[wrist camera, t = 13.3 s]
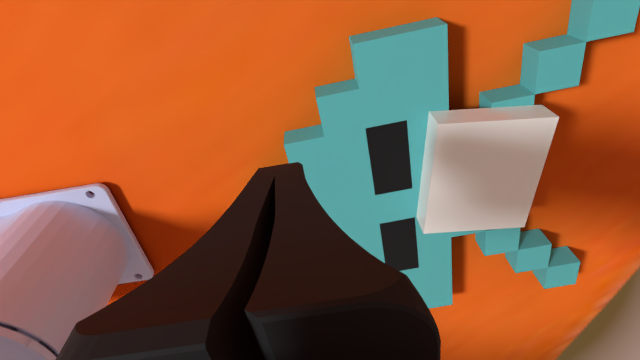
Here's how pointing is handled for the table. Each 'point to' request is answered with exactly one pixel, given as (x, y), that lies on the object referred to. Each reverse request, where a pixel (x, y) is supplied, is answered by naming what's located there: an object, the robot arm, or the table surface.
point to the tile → (482, 167)
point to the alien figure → (409, 143)
